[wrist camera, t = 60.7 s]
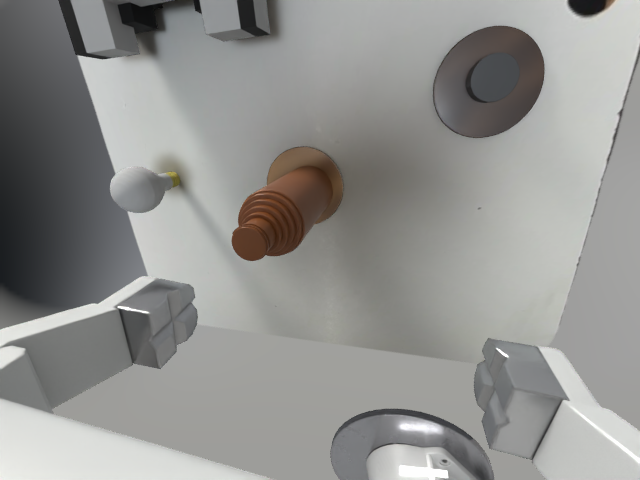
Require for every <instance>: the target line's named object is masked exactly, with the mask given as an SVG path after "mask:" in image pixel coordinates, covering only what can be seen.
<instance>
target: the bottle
mask: <svg viewBox="0 0 640 480" xmlns="http://www.w3.org/2000/svg"><path fill="white" fill-rule="evenodd" d="M332 195H333V188H332V184H331V181H330V179H329V177H328V176H327V175H326V173H324V172H323V171H322V170H321V169H319V168H317V167H314V166H301V167H299V168H297V169H295V170H293V171H291V172H290V173H288V174H286V175H284V176H283V177H281V178H279V179H277V180H276V181H274V182H272V183H270V184H269V185H267V186H265V187H263V188H262V189H260V190H258V191H256V192H255V193H253V194H251V195H250V196H249V197H248V198H247V199H246V200H245V201H244V203H243V205H242V207H241V209H240V212H239V217H238V224H239V227H238V228H237V229H235V230H234V232H233V233H232V234H233V236H232V246H233V248H234V250H235V252H236V253H237V254H238V255H239V256H240V257H241V258H243V259H245V260H248V261H255V260H259V259H261V258H263V257H264V256H265V255H267V256H280V255H284V254H287V253H289V252H291V251H293V250H294V249H296V248H297V247H298V246H299V244H300V243H301V242H302V240H303V239H304V238H305V236H306V235H307V233H308V232H309V231H310V229H311V228H312V227H313V225H314V224H315V223H316V221H317V220H318V218H319V217H320V216H321V214H322V213H323V212H324V210H325V209H326V208H327V206H328V205H329V203H330V202H331V199H332Z"/></svg>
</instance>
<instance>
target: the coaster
mask: <svg viewBox="0 0 640 480" xmlns="http://www.w3.org/2000/svg"><path fill="white" fill-rule="evenodd" d="M301 166H314V167H317V168H319V169H321V170H322V171H323V172H324V173H326V175H327V176H328V177H329V179H330V181H331V184H332V188H333V195H332V199H331V202H330V203H329V205H328V206H327V208H326V209H325V210H324V212H323V213H322V214H321V216H320V217H319V218H318V220H317V221H316V223H315V224H317V223H320V222H322V221H324V220H326V219H328V218H329V217H330V216H331V215H332V214H333V213H334V212H335V211H336V209H337V208H338V206H339V204H340V202H341V199H342V195H343V180H342V176H341V173H340V171H339V169H338V167H337V165H336V164H335V163H334V161H333V160H332V159H331V158H330V157H329V156H327V155H326V154H325V153H323V152H322V151H320V150H317V149H314V148H311V147H295V148H292V149H289V150H287V151H285V152H283V153H282V154H280V155H279V156H278V157H277V158H276V159H275V161H274V162H273V163H272V165H271V167H270V169H269V173H268V177H267V185H269V184H270V183H272V182H274V181H276V180H277V179H279V178H281V177H283V176H284V175H286V174H288V173H290V172H291V171H293V170H295V169H297V168H299V167H301Z"/></svg>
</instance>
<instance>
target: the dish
mask: <svg viewBox="0 0 640 480" xmlns="http://www.w3.org/2000/svg"><path fill="white" fill-rule="evenodd" d="M494 53H507V54H509V55H511V56H512V57H514V58H515V60H516V61H517V63H518V65H519V71H520V73H519V79H518V82H517V84H516V86H515V88H514V89H513V90H512V92H511V93H510V94H509V95H507V96H506V97H504V98H503V99H501V100H498V101H496V102H488V103H482V102H477V101H474V100H473V99H472V98H471V97H470V96H469V94H468V92H467V90H466V78H467V76H468V73H469V71H470V69H471V68H472V67H473V66H474V65H475V64H476V62H478V61H479V60H482V59H483V58H485V57H486V56H488V55H490V54H494ZM543 81H544V61H543V56H542V54H541V51H540V49H539V47H538V45H537V44H536V42H535V41H534V40H533V39H532V38H531V37H530V36H529V35H528V34H526V33H525V32H523V31H521V30H519V29H516V28H513V27H508V26H492V27H487V28H484V29H481V30H478V31H476V32H474V33H472V34H470V35H468V36H467V37H465V38H463V39H462V40H461V41H460V42H459V43H457V44H456V45H455V46H454V47H453V48H452V49H451V50H450V52H449V53H448V54H447V55H446V57H445V58H444V60H443V61H442V63H441V65H440V67H439V69H438V72H437V74H436V77H435V82H434V88H433V99H434V105H435V109H436V111H437V114H438V116H439V117H440V119H441V120H442V122H443V123H444V124H445V125H446V126H447V127H448V128H449V129H451V130H452V131H454V132H455V133H458V134H460V135H463V136H467V137H473V138H483V137H489V136H493V135H496V134H499V133H502V132H504V131H506V130H508V129H509V128H511V127H512V126H514V125H515V124H517V123H518V122H519V121H520V120H521V119H522V118H523V117H524V116H525V115H526V114H527V113H528V112H529V111H530V110H531V108H532V107H533V105H534V104H535V102H536V100H537V98H538V96H539V94H540V91H541V88H542V85H543Z"/></svg>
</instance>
